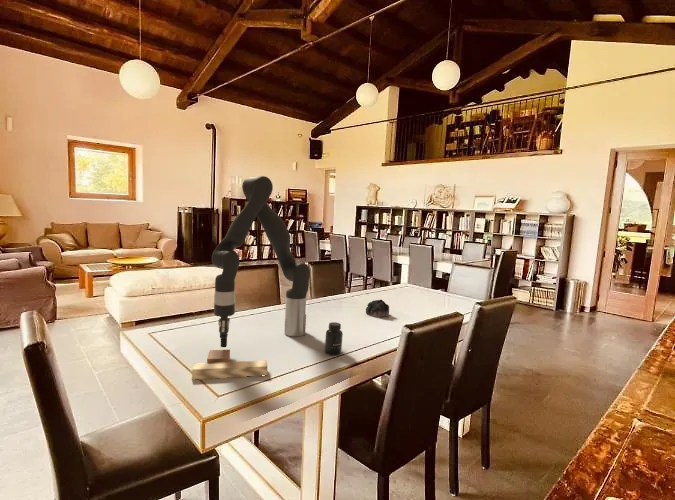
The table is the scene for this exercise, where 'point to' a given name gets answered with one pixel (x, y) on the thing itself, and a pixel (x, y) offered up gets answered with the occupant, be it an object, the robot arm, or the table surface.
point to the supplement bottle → (333, 339)
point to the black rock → (377, 308)
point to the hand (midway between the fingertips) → (223, 346)
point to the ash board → (229, 369)
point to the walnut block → (218, 356)
